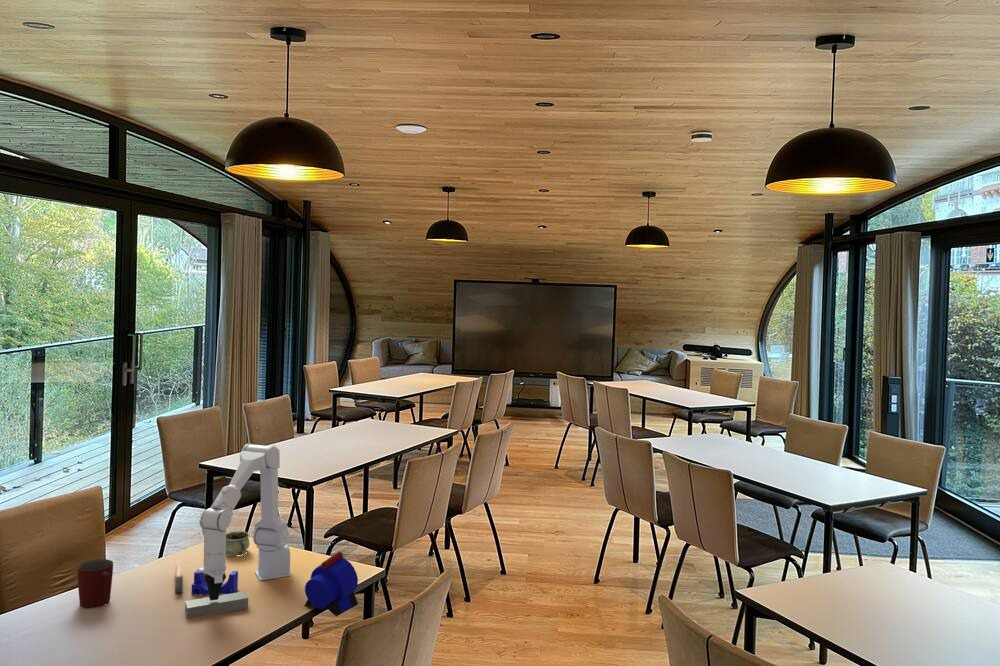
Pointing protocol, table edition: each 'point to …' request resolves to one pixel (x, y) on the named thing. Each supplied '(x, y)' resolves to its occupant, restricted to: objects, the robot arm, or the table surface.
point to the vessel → (237, 543)
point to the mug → (95, 582)
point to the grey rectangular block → (216, 605)
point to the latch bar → (178, 578)
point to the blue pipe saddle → (227, 588)
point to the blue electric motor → (333, 585)
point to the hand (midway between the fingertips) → (213, 599)
